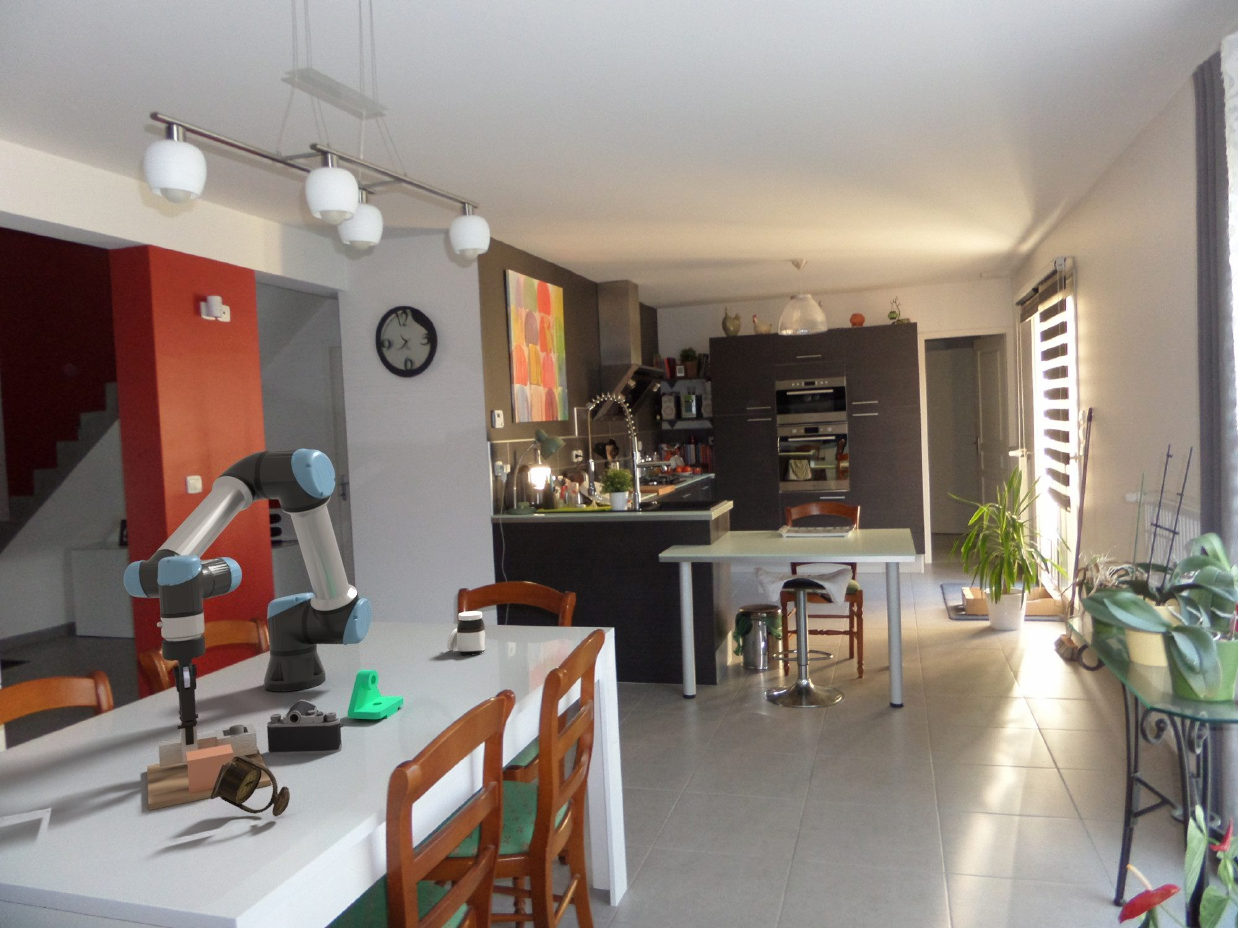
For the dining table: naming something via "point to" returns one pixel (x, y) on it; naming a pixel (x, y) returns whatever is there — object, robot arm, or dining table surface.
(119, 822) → the dining table surface
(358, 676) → the camera mount
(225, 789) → the brass desk clock
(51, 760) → the dining table surface
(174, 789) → the board
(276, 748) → the camera
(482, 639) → the spread jar
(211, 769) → the block
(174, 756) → the link
